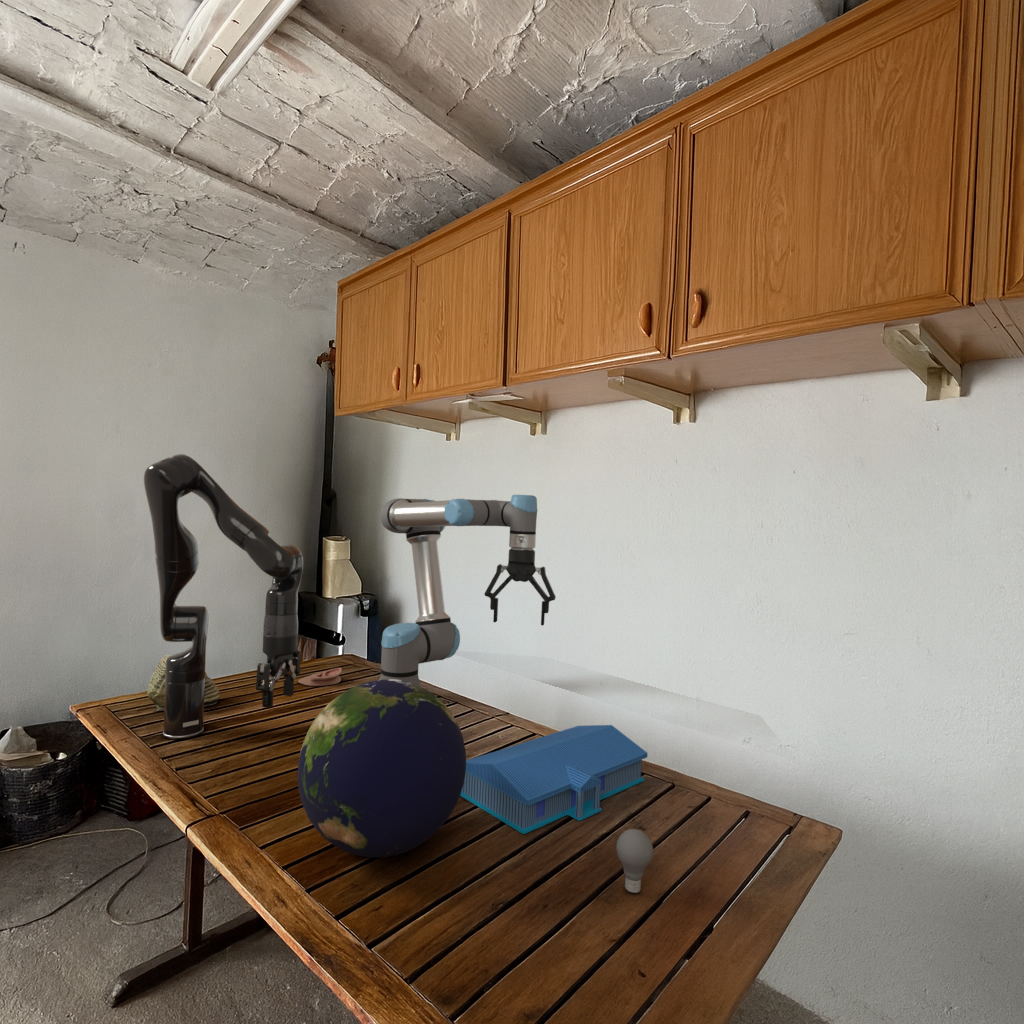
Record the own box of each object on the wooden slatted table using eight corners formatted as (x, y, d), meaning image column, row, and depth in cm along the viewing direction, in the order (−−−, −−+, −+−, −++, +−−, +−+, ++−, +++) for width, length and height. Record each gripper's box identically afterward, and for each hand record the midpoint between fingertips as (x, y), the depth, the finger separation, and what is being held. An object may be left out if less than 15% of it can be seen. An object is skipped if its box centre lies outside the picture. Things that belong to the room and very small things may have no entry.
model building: (535, 841, 120) (537, 789, 119) (456, 793, 138) (458, 747, 137) (656, 785, 146) (658, 742, 146) (576, 751, 164) (578, 712, 164)
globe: (256, 866, 108) (262, 691, 107) (361, 794, 135) (366, 654, 135) (408, 917, 96) (416, 722, 96) (488, 827, 124) (495, 675, 123)
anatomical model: (293, 672, 210) (311, 663, 221) (292, 684, 210) (310, 675, 221) (330, 676, 207) (346, 667, 219) (329, 688, 208) (345, 678, 219)
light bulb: (610, 879, 108) (613, 822, 108) (644, 879, 109) (647, 822, 109) (619, 902, 102) (622, 840, 102) (655, 901, 103) (658, 840, 103)
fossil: (144, 707, 182) (145, 655, 182) (212, 696, 194) (213, 647, 194) (151, 716, 175) (153, 662, 175) (221, 703, 188) (223, 653, 188)
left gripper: (277, 640, 139) (275, 713, 139) (311, 627, 153) (308, 693, 153) (247, 637, 140) (244, 709, 141) (283, 624, 154) (280, 690, 155)
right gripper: (476, 547, 178) (473, 622, 179) (565, 552, 175) (561, 628, 176) (481, 545, 186) (478, 617, 186) (566, 550, 183) (563, 623, 183)
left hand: (278, 701), depth 147 cm, fingers open, 8 cm apart
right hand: (518, 623), depth 181 cm, fingers open, 13 cm apart
